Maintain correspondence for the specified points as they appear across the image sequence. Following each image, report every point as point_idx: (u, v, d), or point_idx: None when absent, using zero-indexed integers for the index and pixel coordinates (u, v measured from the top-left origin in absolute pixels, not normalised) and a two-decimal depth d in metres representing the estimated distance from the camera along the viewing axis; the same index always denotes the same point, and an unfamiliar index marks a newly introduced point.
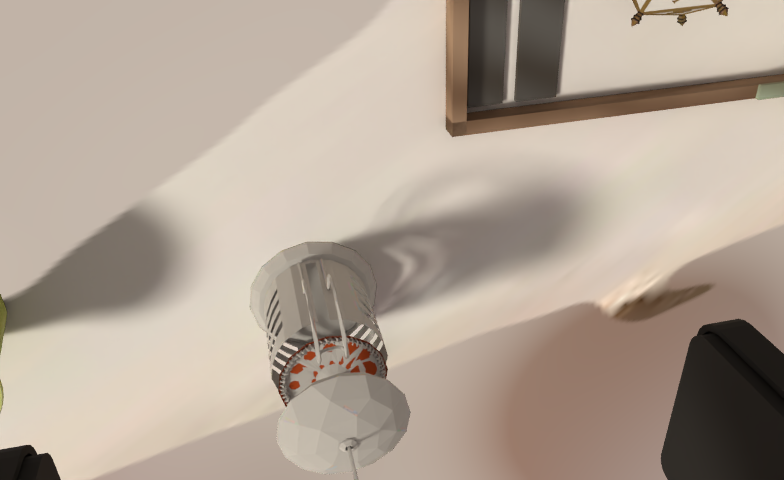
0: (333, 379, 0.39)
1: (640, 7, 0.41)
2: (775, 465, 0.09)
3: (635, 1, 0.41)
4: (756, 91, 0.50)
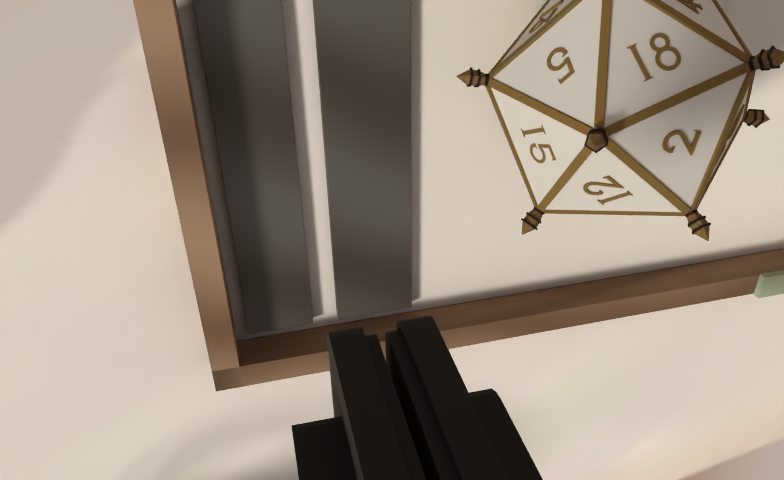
0: None
1: (538, 201, 0.21)
2: (418, 457, 0.09)
3: (528, 188, 0.21)
4: (756, 284, 0.30)
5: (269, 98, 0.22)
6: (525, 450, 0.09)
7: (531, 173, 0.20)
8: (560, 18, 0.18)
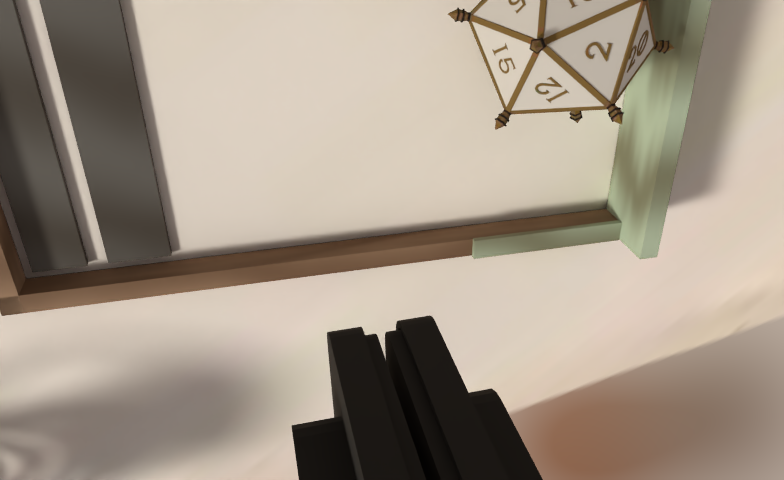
0: None
1: (506, 104, 0.29)
2: (418, 457, 0.09)
3: (499, 95, 0.29)
4: (471, 247, 0.36)
5: (17, 81, 0.29)
6: (525, 450, 0.09)
7: (500, 83, 0.29)
8: None
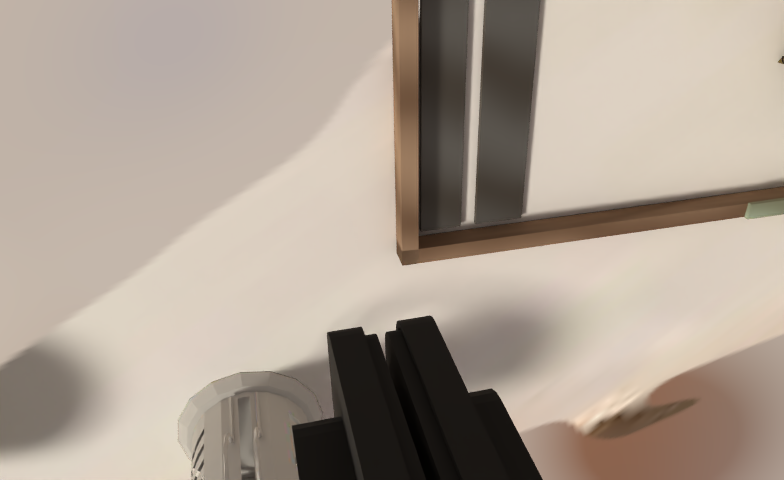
0: None
1: None
2: (418, 457, 0.09)
3: None
4: (745, 210, 0.45)
5: (454, 79, 0.37)
6: (525, 450, 0.09)
7: None
8: None
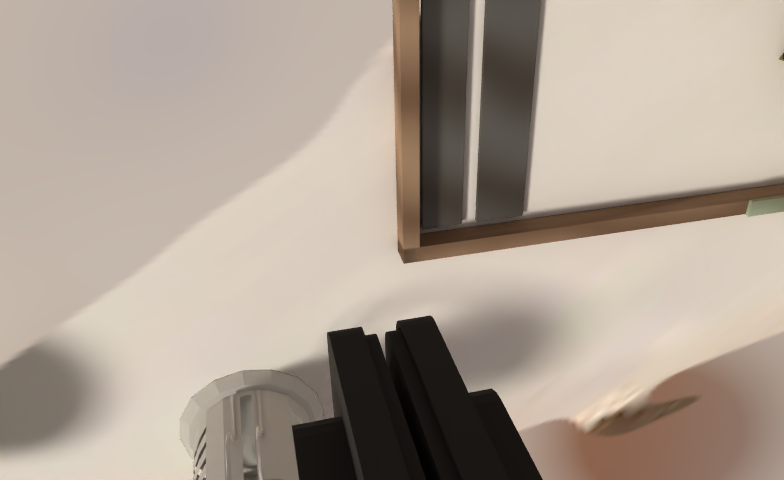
0: None
1: None
2: (418, 457, 0.09)
3: None
4: (746, 207, 0.45)
5: (454, 77, 0.37)
6: (525, 450, 0.09)
7: None
8: None
